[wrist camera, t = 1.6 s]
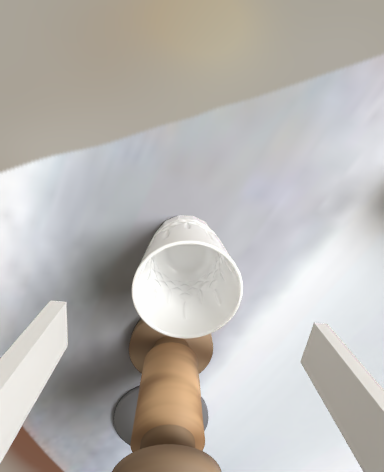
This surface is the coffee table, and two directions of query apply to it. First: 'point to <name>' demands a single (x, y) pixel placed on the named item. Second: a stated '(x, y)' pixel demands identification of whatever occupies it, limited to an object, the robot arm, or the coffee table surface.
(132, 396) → the pad
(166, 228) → the white cup
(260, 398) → the coffee table surface
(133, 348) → the doorknob
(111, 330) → the coffee table surface
